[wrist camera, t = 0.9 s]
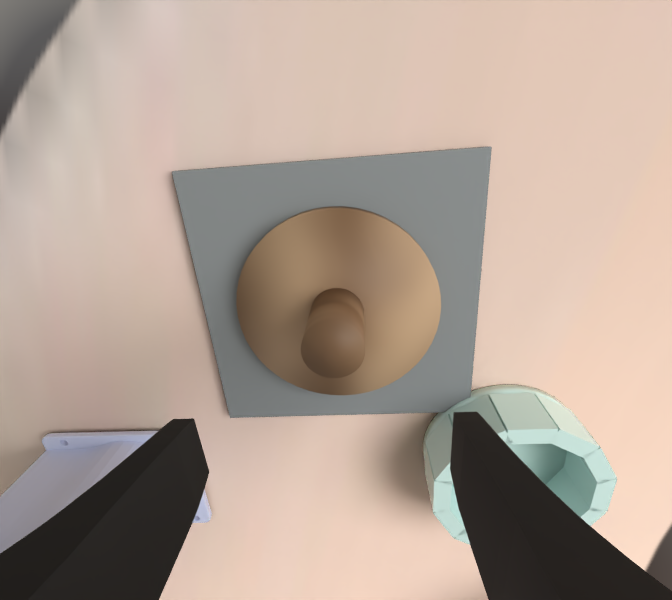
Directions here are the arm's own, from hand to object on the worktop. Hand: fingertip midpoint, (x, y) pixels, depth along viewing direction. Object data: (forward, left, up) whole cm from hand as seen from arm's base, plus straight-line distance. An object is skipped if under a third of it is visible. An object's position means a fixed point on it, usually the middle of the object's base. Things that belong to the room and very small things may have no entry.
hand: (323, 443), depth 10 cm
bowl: (+9, -10, -10) cm, 17 cm away
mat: (0, 0, -10) cm, 10 cm away
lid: (0, 0, -9) cm, 9 cm away
